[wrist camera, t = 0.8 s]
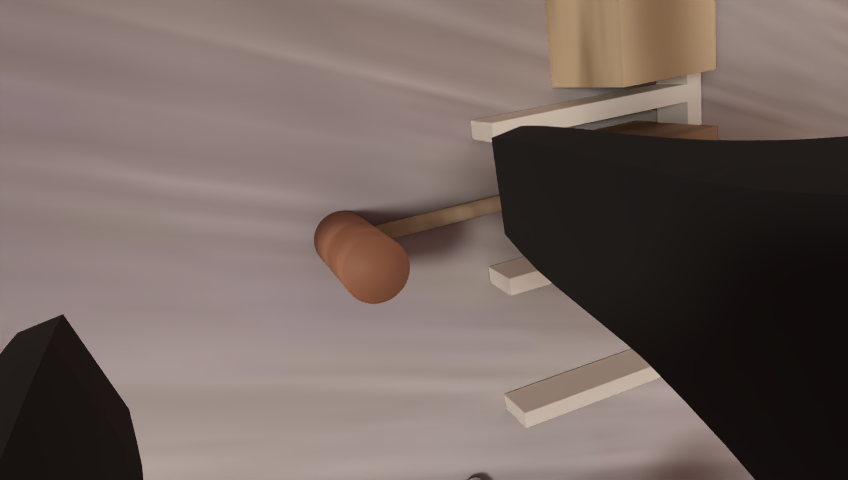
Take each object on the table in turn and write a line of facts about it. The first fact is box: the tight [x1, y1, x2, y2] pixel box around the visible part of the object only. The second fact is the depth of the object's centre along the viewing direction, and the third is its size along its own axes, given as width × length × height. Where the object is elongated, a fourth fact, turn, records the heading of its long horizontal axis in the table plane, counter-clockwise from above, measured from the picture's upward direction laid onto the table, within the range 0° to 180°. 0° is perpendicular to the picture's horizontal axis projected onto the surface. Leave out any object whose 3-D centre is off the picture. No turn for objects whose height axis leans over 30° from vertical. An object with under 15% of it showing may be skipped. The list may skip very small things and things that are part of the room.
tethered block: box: [314, 121, 718, 304], centre depth 26 cm, size 16×4×5 cm, turn 100°
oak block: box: [545, 0, 716, 87], centre depth 26 cm, size 4×4×5 cm
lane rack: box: [471, 72, 702, 428], centre depth 28 cm, size 11×21×2 cm, turn 10°
